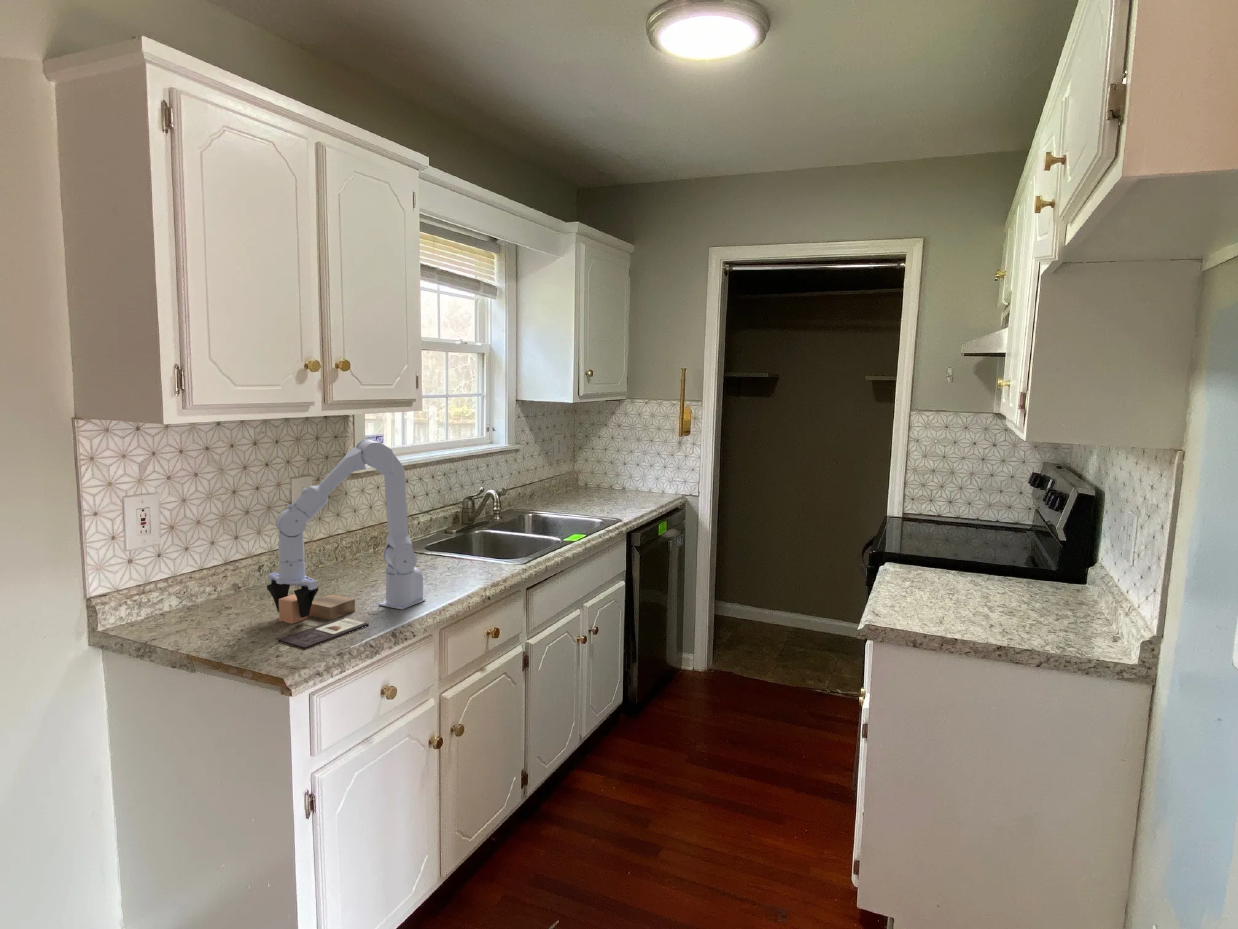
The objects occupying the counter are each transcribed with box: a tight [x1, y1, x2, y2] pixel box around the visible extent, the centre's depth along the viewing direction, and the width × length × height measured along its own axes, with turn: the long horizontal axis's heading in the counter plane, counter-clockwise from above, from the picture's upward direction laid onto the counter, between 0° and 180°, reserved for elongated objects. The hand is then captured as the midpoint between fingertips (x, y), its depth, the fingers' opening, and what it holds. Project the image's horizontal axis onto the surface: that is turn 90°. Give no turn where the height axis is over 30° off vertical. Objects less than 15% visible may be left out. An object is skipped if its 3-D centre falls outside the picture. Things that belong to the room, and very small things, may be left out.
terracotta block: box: [278, 593, 309, 625], centre depth 179 cm, size 4×4×6 cm
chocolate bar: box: [277, 616, 370, 651], centre depth 170 cm, size 9×1×18 cm
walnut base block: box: [309, 594, 356, 621], centre depth 184 cm, size 8×8×4 cm
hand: (293, 613), depth 179 cm, fingers open, 7 cm apart
